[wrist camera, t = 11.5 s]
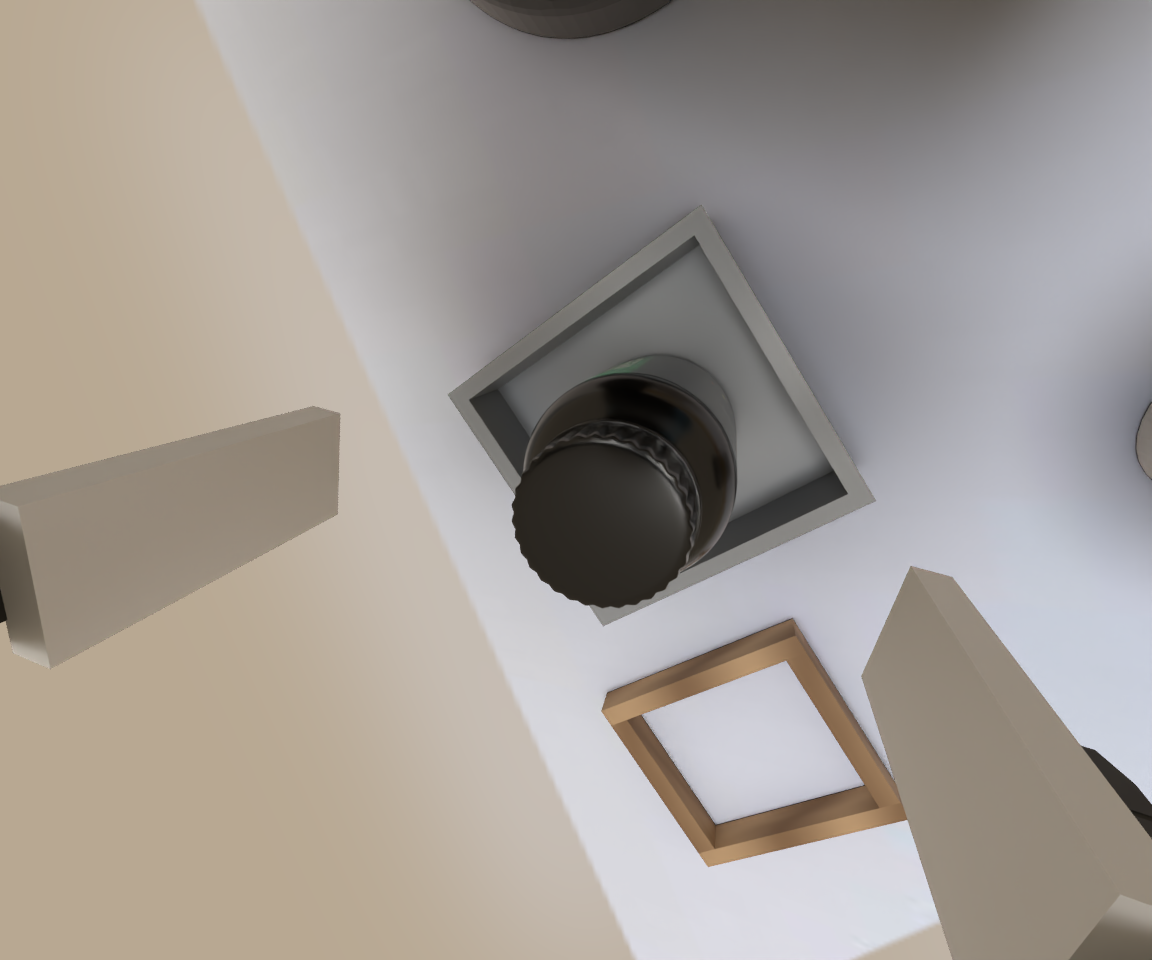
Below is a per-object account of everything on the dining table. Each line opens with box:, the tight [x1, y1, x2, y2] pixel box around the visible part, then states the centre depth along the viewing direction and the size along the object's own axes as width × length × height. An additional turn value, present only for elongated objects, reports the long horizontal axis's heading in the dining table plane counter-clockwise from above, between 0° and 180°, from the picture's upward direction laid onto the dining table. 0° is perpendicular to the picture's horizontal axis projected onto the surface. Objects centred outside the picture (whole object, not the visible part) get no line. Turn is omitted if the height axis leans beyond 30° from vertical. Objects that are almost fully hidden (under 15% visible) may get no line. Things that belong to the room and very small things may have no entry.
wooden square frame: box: [601, 619, 907, 867], centre depth 29 cm, size 11×11×2 cm
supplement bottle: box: [512, 355, 737, 608], centre depth 20 cm, size 7×7×12 cm
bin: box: [448, 205, 876, 626], centre depth 24 cm, size 12×12×4 cm
